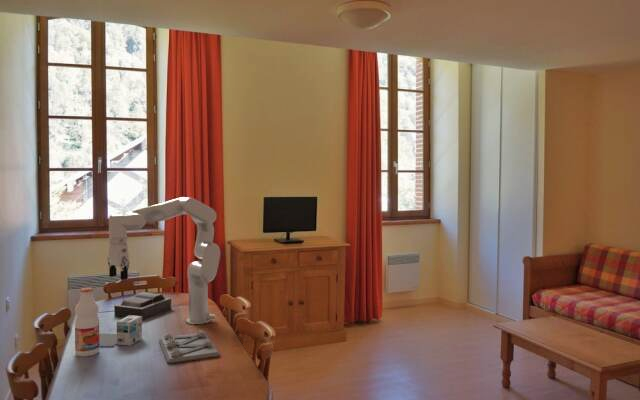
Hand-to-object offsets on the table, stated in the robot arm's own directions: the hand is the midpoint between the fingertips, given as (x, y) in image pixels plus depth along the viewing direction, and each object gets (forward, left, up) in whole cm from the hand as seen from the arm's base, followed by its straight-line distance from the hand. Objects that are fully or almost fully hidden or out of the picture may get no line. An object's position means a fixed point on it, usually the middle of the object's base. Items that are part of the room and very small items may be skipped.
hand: (118, 277), depth 224 cm
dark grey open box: (+7, -43, -29) cm, 53 cm away
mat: (+5, +3, -29) cm, 29 cm away
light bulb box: (-6, +3, -29) cm, 30 cm away
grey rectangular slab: (-36, +10, -30) cm, 48 cm away
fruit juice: (+5, +18, -29) cm, 35 cm away
